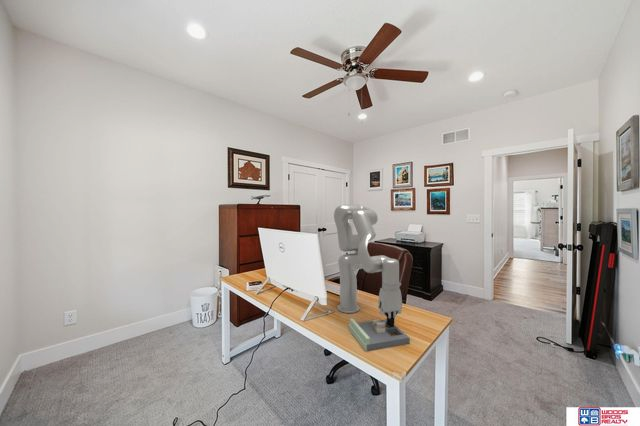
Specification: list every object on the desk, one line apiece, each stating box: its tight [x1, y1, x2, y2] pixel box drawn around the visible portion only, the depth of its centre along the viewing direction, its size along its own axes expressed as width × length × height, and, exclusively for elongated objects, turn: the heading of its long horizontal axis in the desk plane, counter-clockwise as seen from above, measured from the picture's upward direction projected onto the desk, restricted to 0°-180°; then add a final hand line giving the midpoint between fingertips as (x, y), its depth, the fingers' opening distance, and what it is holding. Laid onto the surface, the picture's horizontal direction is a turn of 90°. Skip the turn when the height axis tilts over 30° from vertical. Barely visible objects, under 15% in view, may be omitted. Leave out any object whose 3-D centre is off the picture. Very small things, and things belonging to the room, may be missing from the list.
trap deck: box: [348, 318, 411, 352], centre depth 107 cm, size 18×21×5 cm
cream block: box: [372, 318, 386, 333], centre depth 107 cm, size 4×4×4 cm
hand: (390, 325), depth 108 cm, fingers closed
